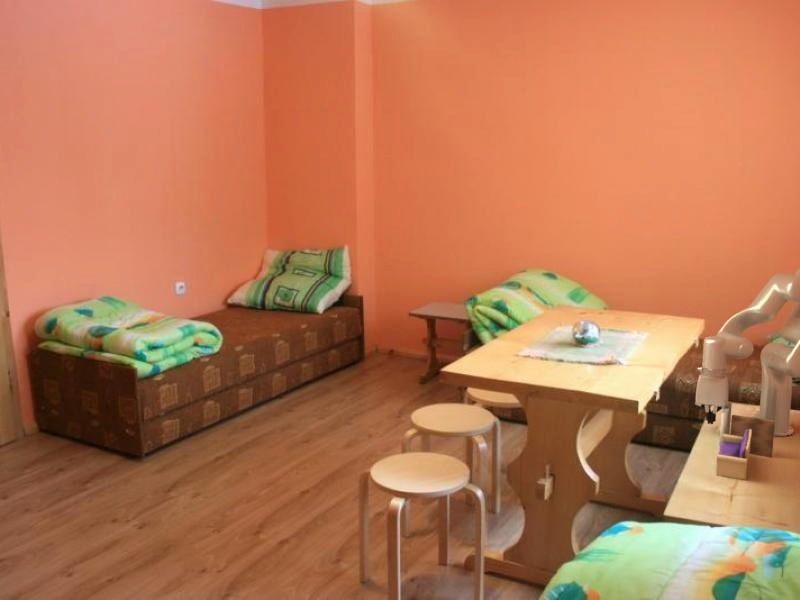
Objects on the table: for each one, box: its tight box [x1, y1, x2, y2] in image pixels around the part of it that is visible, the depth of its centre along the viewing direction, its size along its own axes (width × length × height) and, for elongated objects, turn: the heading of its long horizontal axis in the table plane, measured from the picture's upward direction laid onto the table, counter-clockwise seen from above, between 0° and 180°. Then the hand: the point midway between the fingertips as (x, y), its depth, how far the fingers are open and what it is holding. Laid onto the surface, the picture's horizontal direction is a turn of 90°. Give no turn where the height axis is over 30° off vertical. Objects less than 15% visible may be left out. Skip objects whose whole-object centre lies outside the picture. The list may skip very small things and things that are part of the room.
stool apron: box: [730, 414, 775, 458], centre depth 233 cm, size 12×2×12 cm, turn 60°
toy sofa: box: [715, 429, 752, 480], centre depth 224 cm, size 21×9×10 cm, turn 151°
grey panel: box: [719, 401, 733, 446], centre depth 246 cm, size 2×15×11 cm, turn 150°
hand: (710, 422), depth 250 cm, fingers closed
